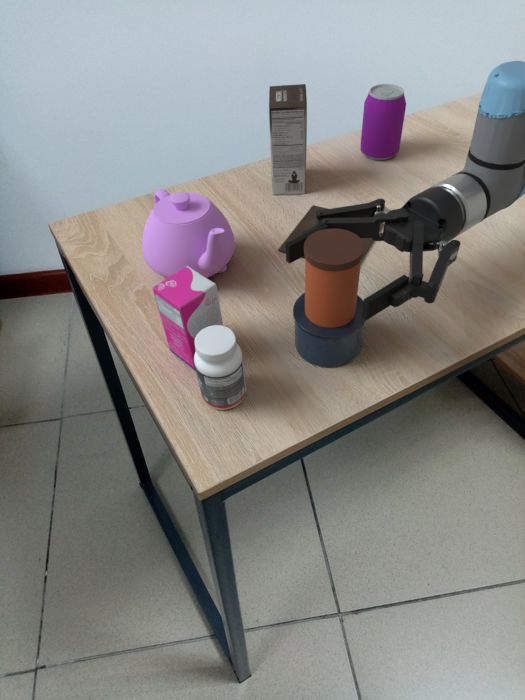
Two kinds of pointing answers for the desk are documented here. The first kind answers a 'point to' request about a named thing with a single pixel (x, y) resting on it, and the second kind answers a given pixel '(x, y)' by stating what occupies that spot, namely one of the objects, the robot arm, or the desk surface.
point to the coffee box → (288, 138)
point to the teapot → (186, 235)
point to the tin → (327, 338)
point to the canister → (332, 276)
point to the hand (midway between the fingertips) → (323, 280)
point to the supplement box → (187, 310)
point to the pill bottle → (219, 367)
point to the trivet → (309, 222)
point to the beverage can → (383, 121)
